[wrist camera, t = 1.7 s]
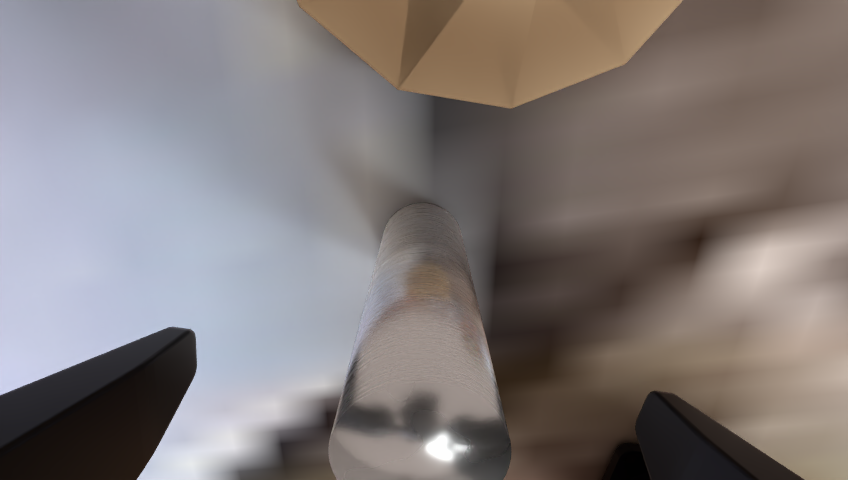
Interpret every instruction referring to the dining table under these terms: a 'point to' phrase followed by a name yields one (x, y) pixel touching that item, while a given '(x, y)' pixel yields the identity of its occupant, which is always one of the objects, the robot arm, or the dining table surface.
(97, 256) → the dining table surface
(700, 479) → the robot arm
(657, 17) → the wooden bead
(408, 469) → the steel rod
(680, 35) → the dining table surface
